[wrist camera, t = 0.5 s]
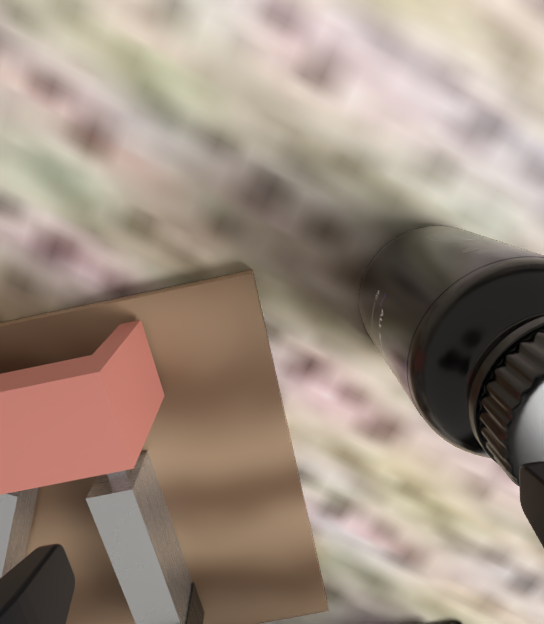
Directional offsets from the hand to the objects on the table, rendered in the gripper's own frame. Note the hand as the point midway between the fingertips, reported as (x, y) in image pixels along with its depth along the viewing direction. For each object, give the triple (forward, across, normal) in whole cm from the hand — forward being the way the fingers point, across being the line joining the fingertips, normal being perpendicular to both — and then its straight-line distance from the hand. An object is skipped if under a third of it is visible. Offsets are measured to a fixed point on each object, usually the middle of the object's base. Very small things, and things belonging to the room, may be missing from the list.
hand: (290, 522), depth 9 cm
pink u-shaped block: (+13, +11, +1) cm, 17 cm away
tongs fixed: (+13, +9, +9) cm, 19 cm away
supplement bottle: (+14, -8, 0) cm, 16 cm away
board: (+14, +11, +8) cm, 20 cm away
